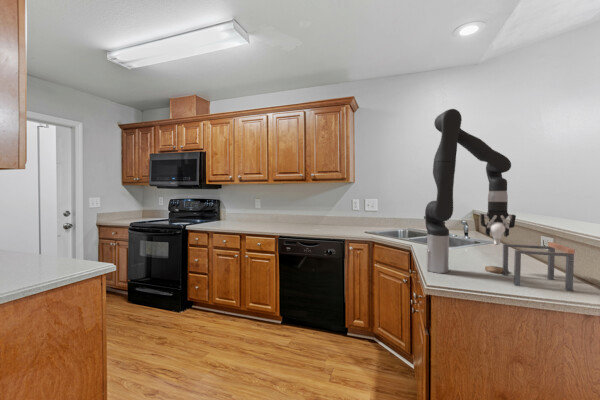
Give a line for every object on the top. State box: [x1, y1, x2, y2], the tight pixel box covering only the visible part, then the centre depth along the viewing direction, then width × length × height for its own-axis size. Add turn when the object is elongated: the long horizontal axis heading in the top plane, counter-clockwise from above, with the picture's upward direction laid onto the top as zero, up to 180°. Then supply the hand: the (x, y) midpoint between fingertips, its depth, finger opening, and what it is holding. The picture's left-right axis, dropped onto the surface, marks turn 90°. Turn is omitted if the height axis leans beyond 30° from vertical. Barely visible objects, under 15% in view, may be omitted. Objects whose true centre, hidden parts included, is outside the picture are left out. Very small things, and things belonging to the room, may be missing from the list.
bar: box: [547, 241, 576, 255], centre depth 113 cm, size 2×16×2 cm, turn 159°
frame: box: [501, 243, 575, 292], centre depth 116 cm, size 18×16×14 cm
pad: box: [484, 265, 503, 275], centre depth 132 cm, size 9×9×1 cm
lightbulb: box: [489, 222, 505, 246], centre depth 131 cm, size 6×6×11 cm
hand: (497, 236), depth 131 cm, fingers closed on lightbulb, 6 cm apart
